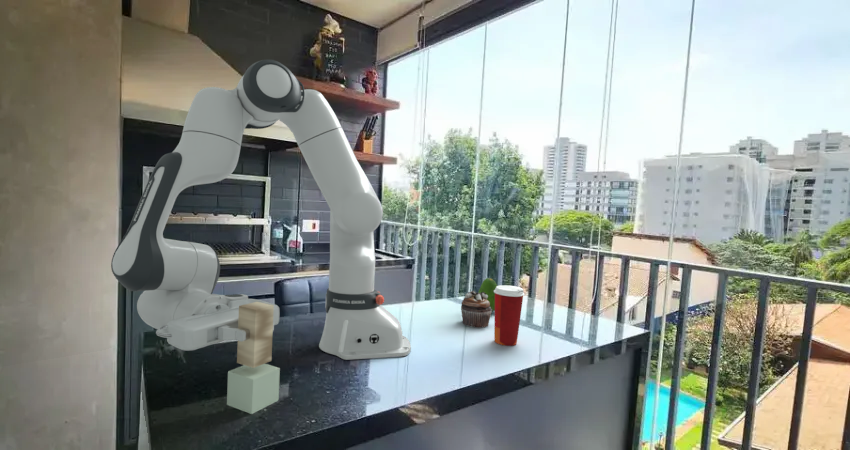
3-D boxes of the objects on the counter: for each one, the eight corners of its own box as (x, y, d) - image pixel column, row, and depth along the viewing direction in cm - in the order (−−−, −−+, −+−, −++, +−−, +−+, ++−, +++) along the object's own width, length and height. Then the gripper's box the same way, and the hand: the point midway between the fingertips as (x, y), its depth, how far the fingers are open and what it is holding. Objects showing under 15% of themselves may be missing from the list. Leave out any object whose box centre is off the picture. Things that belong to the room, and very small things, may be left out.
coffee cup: (526, 343, 119) (530, 288, 118) (510, 349, 113) (514, 292, 112) (500, 335, 125) (504, 283, 124) (483, 341, 119) (487, 286, 118)
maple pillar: (255, 356, 79) (257, 301, 79) (271, 360, 78) (273, 305, 77) (236, 362, 76) (238, 305, 75) (253, 368, 74) (255, 309, 73)
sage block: (254, 392, 81) (255, 360, 81) (278, 400, 78) (279, 368, 78) (226, 405, 76) (228, 371, 75) (251, 414, 73) (253, 379, 73)
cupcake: (456, 325, 133) (458, 292, 132) (464, 317, 142) (466, 287, 141) (487, 330, 129) (489, 297, 129) (493, 322, 138) (496, 291, 138)
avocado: (475, 314, 147) (478, 278, 146) (476, 308, 155) (479, 275, 154) (499, 316, 146) (502, 281, 145) (499, 310, 154) (502, 277, 153)
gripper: (150, 312, 72) (206, 328, 66) (249, 292, 91) (300, 303, 85) (149, 350, 73) (205, 368, 67) (248, 322, 91) (299, 334, 85)
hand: (259, 331), depth 76 cm, fingers closed on maple pillar, 4 cm apart
